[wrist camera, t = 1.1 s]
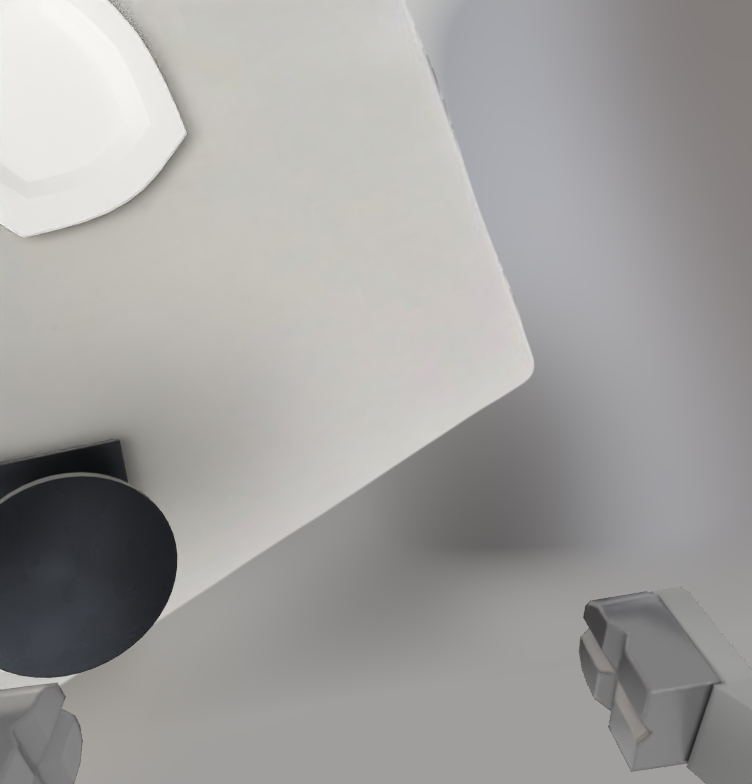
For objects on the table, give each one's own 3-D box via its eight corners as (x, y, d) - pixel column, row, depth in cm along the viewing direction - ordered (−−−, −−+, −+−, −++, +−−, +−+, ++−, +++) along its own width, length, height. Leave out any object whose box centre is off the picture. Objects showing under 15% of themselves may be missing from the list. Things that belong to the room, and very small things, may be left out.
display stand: (147, 555, 49) (192, 629, 34) (-4, 602, 43) (-24, 714, 29) (122, 431, 47) (158, 455, 33) (-37, 463, 42) (-75, 509, 28)
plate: (22, 276, 43) (21, 272, 42) (-213, 30, 36) (-225, 13, 35) (211, 149, 50) (217, 141, 49) (45, -77, 43) (45, -95, 42)
